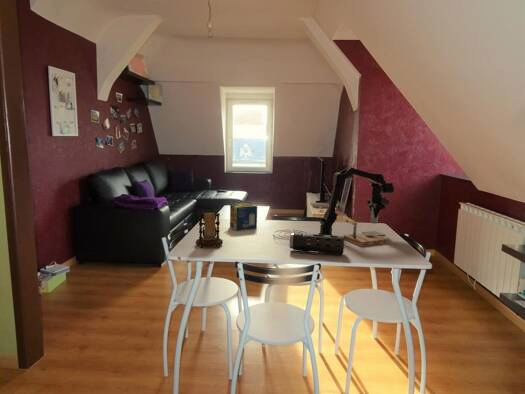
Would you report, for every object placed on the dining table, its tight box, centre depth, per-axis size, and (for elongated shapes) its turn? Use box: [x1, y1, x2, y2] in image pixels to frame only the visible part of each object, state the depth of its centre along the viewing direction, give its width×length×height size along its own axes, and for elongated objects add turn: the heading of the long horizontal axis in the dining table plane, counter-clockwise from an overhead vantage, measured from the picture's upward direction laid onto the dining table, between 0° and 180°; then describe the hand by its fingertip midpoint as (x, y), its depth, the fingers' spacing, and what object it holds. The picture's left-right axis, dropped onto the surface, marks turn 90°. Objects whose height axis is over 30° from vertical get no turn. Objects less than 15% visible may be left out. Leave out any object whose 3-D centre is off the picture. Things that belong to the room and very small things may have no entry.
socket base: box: [343, 232, 389, 247], centre depth 225 cm, size 20×16×2 cm
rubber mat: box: [361, 230, 386, 237], centre depth 242 cm, size 10×10×1 cm
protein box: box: [229, 202, 258, 231], centre depth 249 cm, size 10×15×16 cm
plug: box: [370, 207, 379, 224], centre depth 240 cm, size 5×5×10 cm
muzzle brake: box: [289, 231, 345, 256], centre depth 199 cm, size 10×28×10 cm, turn 78°
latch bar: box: [342, 215, 358, 238], centre depth 229 cm, size 19×2×9 cm, turn 7°
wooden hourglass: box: [195, 209, 224, 249], centre depth 207 cm, size 15×15×20 cm
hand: (374, 217), depth 240 cm, fingers closed on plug, 4 cm apart
